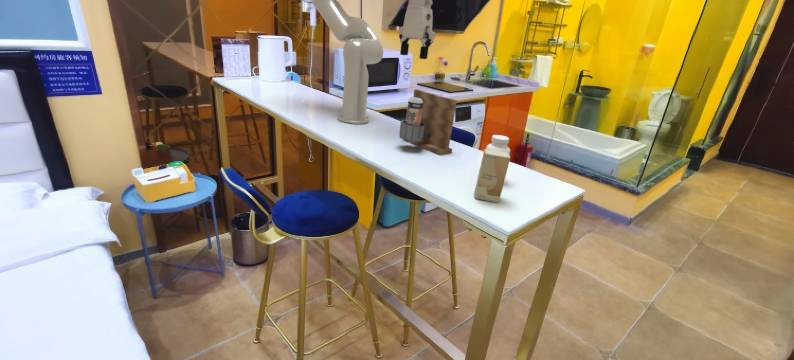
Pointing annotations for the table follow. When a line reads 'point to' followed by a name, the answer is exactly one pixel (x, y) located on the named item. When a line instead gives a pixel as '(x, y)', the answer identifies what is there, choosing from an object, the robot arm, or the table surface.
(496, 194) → the skincare box
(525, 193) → the table surface
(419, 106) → the beer can
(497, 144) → the supplement bottle
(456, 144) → the table surface
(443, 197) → the table surface
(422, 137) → the cup bracket
